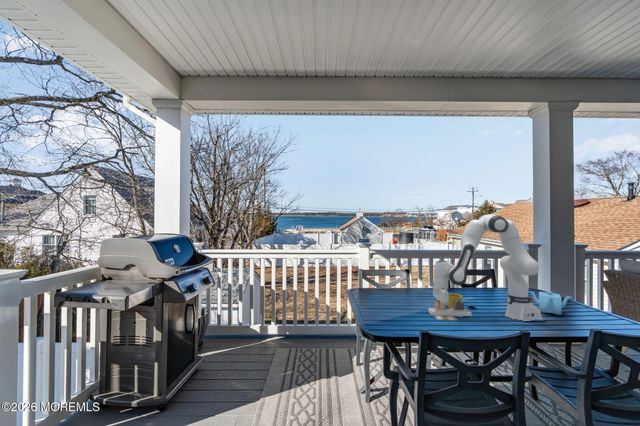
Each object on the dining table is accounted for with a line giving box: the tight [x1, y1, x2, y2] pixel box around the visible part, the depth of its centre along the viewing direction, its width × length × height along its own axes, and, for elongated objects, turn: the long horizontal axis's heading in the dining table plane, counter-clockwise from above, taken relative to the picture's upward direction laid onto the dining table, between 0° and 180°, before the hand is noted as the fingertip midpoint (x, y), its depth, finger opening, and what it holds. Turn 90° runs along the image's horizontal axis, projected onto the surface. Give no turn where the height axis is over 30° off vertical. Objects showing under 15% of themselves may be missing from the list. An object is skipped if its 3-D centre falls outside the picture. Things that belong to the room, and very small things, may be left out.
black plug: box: [454, 299, 465, 310], centre depth 216 cm, size 5×4×8 cm
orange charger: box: [434, 300, 446, 309], centre depth 217 cm, size 5×4×8 cm
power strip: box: [427, 306, 472, 317], centre depth 216 cm, size 25×7×4 cm, turn 88°
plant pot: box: [447, 293, 464, 309], centre depth 229 cm, size 10×10×10 cm
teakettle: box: [528, 290, 572, 315], centre depth 226 cm, size 25×25×15 cm
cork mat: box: [433, 315, 459, 321], centre depth 207 cm, size 12×7×1 cm, turn 88°
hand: (440, 306), depth 217 cm, fingers closed on orange charger, 4 cm apart
